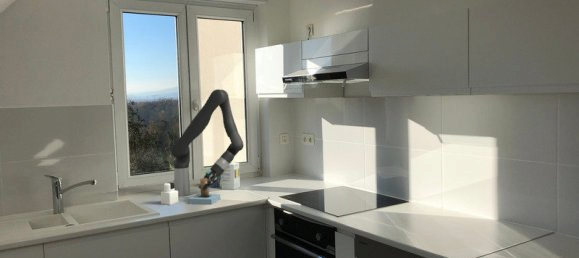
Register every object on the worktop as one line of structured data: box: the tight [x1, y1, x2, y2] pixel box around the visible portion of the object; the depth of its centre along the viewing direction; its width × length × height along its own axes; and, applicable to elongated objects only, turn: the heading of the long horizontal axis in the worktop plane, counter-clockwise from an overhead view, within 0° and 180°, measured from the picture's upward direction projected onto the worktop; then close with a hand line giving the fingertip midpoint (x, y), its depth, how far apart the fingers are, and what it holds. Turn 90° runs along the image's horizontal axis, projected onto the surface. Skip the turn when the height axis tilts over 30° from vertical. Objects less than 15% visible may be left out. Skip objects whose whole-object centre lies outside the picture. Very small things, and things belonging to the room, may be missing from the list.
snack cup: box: [205, 170, 222, 188], centre depth 334 cm, size 16×10×10 cm
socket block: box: [188, 193, 222, 205], centre depth 289 cm, size 14×14×3 cm
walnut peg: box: [199, 177, 210, 198], centre depth 289 cm, size 5×5×11 cm
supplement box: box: [221, 162, 241, 191], centre depth 326 cm, size 10×9×17 cm
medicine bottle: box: [160, 181, 179, 206], centre depth 286 cm, size 7×7×12 cm
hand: (201, 189), depth 288 cm, fingers closed on walnut peg, 4 cm apart
